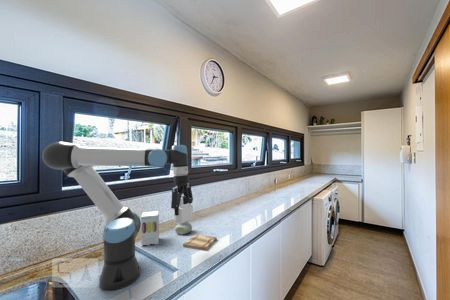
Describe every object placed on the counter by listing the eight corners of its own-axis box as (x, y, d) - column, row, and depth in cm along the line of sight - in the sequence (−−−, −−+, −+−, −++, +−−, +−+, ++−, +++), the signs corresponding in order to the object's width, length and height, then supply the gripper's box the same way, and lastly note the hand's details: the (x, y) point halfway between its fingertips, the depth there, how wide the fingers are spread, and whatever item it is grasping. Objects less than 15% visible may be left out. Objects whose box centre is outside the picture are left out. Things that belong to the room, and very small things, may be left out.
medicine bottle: (185, 216, 110) (183, 194, 110) (193, 219, 105) (192, 196, 105) (173, 220, 104) (172, 197, 104) (182, 223, 100) (180, 199, 100)
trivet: (205, 250, 107) (205, 247, 107) (183, 246, 112) (183, 243, 112) (216, 239, 120) (216, 236, 120) (195, 236, 125) (195, 233, 125)
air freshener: (193, 231, 134) (193, 216, 135) (188, 236, 126) (188, 220, 127) (179, 229, 137) (178, 215, 137) (172, 234, 129) (172, 219, 130)
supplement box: (140, 246, 114) (140, 216, 114) (142, 240, 122) (142, 212, 123) (158, 244, 116) (158, 214, 116) (159, 237, 125) (158, 210, 125)
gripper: (173, 177, 94) (176, 226, 94) (198, 172, 113) (200, 212, 113) (161, 177, 97) (164, 225, 97) (186, 172, 116) (189, 211, 116)
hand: (183, 218), depth 105 cm, fingers closed on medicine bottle, 8 cm apart
